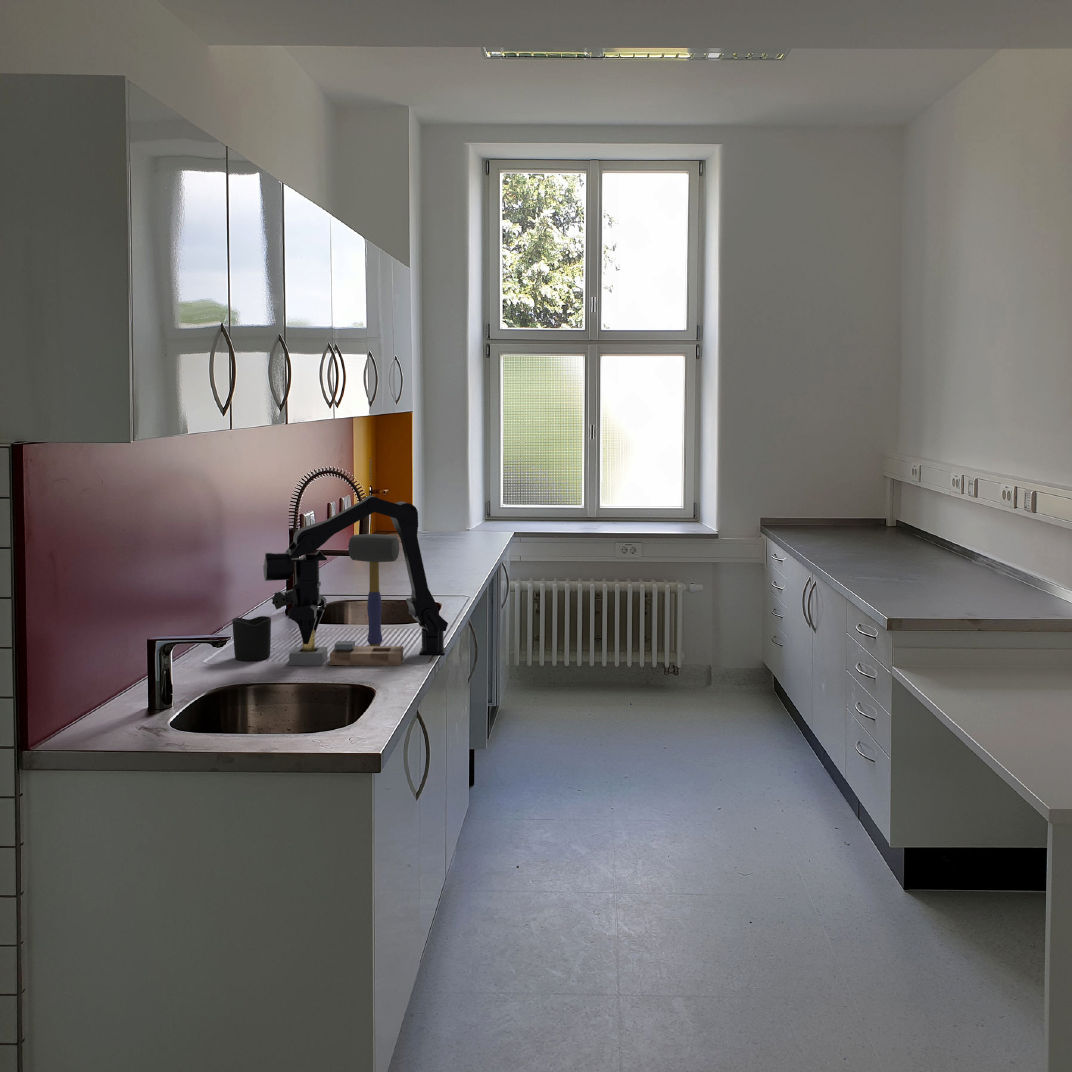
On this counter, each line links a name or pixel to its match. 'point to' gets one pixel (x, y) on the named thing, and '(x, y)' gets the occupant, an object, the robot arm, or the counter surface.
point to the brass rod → (310, 644)
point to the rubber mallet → (374, 573)
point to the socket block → (368, 656)
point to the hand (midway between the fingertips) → (308, 641)
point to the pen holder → (252, 638)
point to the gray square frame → (308, 656)
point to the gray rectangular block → (344, 645)
